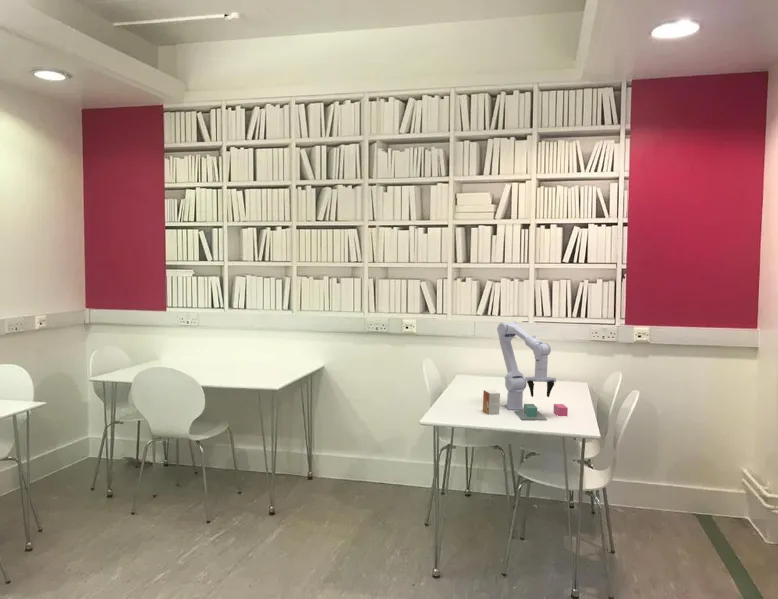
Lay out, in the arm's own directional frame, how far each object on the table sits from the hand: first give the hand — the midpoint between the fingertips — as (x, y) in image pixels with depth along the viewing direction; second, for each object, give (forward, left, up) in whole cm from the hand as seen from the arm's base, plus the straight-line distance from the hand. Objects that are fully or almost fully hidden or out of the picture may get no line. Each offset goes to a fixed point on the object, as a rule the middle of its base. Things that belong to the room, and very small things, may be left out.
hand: (540, 396), depth 303 cm
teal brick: (+1, -5, -9) cm, 10 cm away
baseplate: (+1, -5, -9) cm, 11 cm away
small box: (-5, -23, -10) cm, 25 cm away
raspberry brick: (-4, +11, -10) cm, 15 cm away
